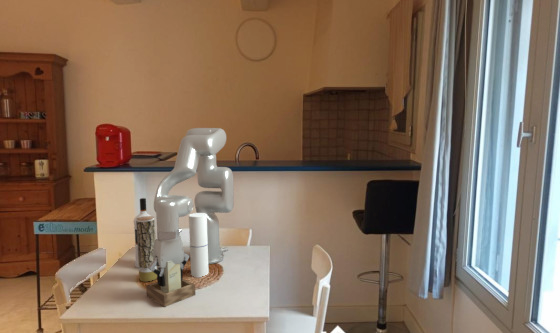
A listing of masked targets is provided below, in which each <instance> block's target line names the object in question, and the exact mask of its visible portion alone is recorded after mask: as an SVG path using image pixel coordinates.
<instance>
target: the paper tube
mask: <svg viewBox="0 0 560 333" xmlns="http://www.w3.org/2000/svg"><path fill="white" fill-rule="evenodd" d="M155 221H156V220H155V217H154V216H152V215H151V216H144V217H139V218H137V219H136V225H137V243H138V261H139V268H138V275H139V276H138V278H139V280H140V281H141V282H143V283H149V282H148V281H150V282H153V281H156V279H157V275H156V274H155V273H154V272H152V271H151V270H150V269H149V268H148V267H149V266H150V264H151V263H152V262H153V261H154V244H155V240H156V224H155V223H156V222H155ZM157 267H158V266H155V269H156V270H157ZM152 280H153V281H152Z"/></svg>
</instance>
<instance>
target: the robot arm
mask: <svg viewBox="0 0 560 333" xmlns="http://www.w3.org/2000/svg"><path fill="white" fill-rule="evenodd" d="M179 143H180V144H179V147H178V151H177V156H176V159H175V163H174V167H173V169H172V170H171V171H170V172H169V173H167V174H166V175H165V176H164V177H163V179H162V180H161V181H160V182H159V184H158V186H157V188H156V191H155V194H154V199H153V210H154V211H155V215H156V216H155V218H156V234H157V239H156V238H155V244H154V261H153V262H152V263H151V264H150V266H149V267H148V268H149V269H150V270H151V271H152V272H154V273H155V274H156V275H157V278H156V279H157V281H156V282H158V284H159V285H160V286H162V287H164V286H165V283H164V276H163V272H164V269H165V268H166V265H167V262H168V261H172V262H173V263H174V264H179V263H180V271H181V280H183V279H184V278H183V276H184V271H183V270H184V269H185V265H186V264H187V262H188V260H189V259H190V255H189V254H187V253H186V252H184V246H183V239H182V237H181V235H180V233H182V231H183V229H182V228H181V227H180V222H179V221H180V220H179V218H182V217H186V216H189V215H190V214H192V212H193V210H194V209H193V208H194V207H195V213H206V214H207V237H208V265H211V264H218V263H220V262H222V261H223V260H224V255H223V253H225V252H228V251H229V247H227V246H225V247H222V246H221V247H220V242H221V241H220V221H219V218H218V216H217V215H216V214H215V213H217V214H218V213H219V214H222V213H224V214H227V213H231V212H232V211H233V209H234V205H235V204H234V203H235V191H234V190H235V187H234V186H235V184H234V183H235V182H234V174H233V171H232V169H231V168H229V167H227V166H218V165H217V154H218V153H219V151H221V150H222V149H223V148H224V147H225V145H226V143H227V133H226V131H225V130H224V129H222V128H220V127H195V128H190V129H188V130H187V131H186V133H185V136H184V137H182V138H181V140H180V142H179ZM196 174H197V175H196ZM195 175H196V176H197V177H196V178H197V184H198V186H199V187H201V188H204V189H220V191H219V190H202V191H198V192H197V193H196V194H195V196H194V202H193V199H192V197H189V196H187V195H174V194H173V195H171V194H169V193H170V192H171V190H172V189H173V187H175V186H176V185H178V184H180V183H182V182H184V181H186V180H189V179H191V178H194V177H195ZM155 266H157V270H156V269H155Z"/></svg>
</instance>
